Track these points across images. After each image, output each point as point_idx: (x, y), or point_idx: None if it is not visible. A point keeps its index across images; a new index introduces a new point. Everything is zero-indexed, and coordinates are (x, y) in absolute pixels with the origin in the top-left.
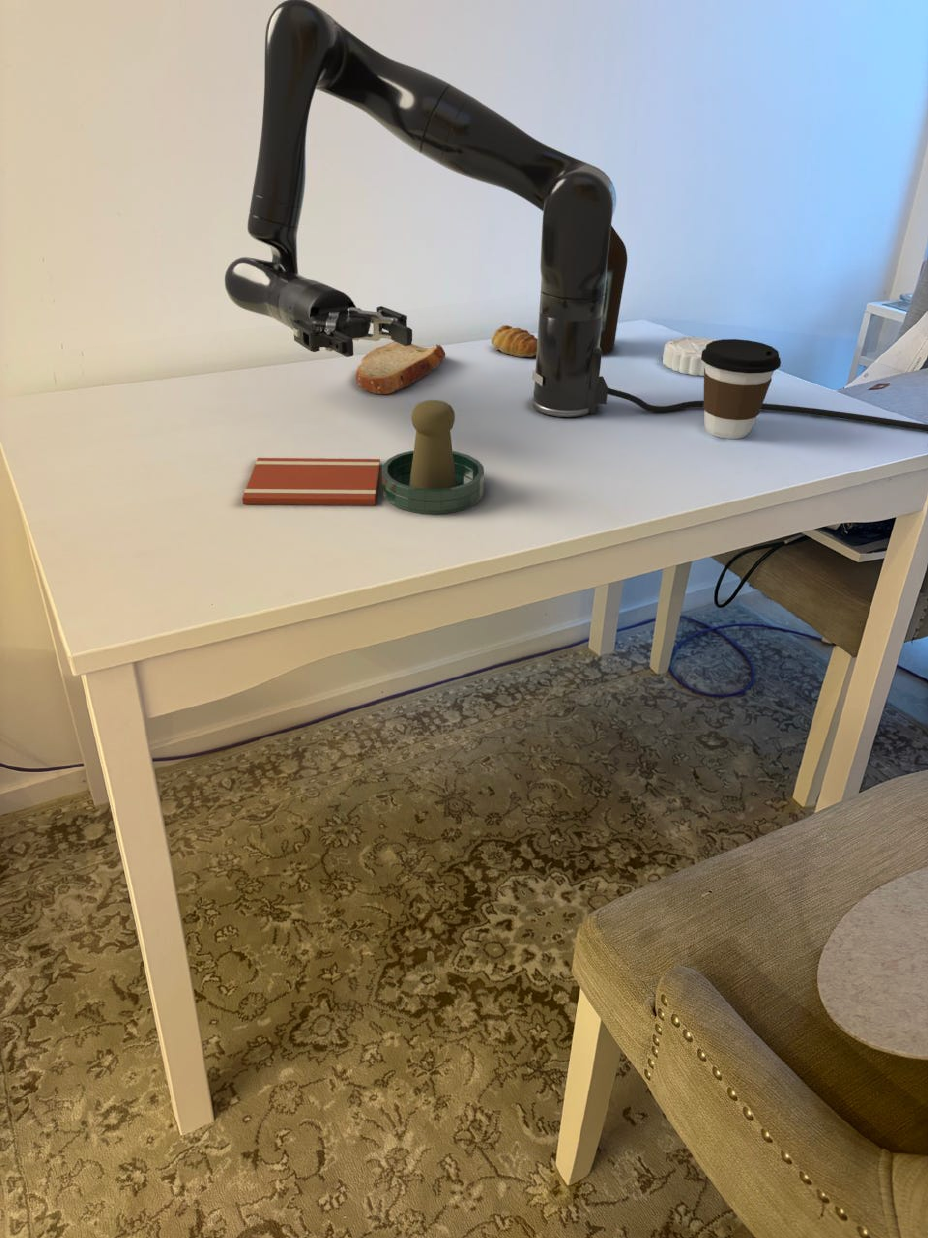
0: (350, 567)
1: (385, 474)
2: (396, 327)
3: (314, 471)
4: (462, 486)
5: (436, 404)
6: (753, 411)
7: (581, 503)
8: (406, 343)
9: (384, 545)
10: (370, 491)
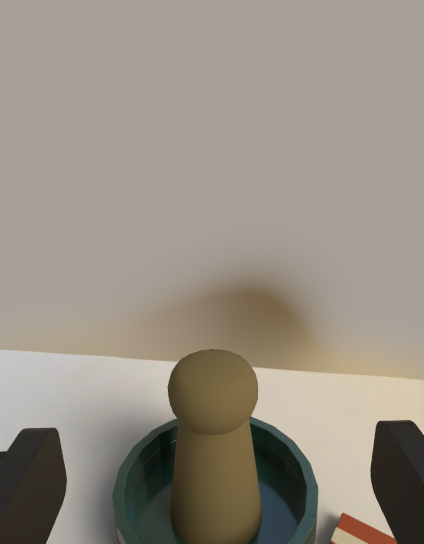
0: (412, 405)
1: (313, 502)
2: (8, 522)
3: None
4: None
5: (209, 358)
6: None
7: (79, 395)
8: (64, 481)
9: (359, 422)
10: (344, 541)
